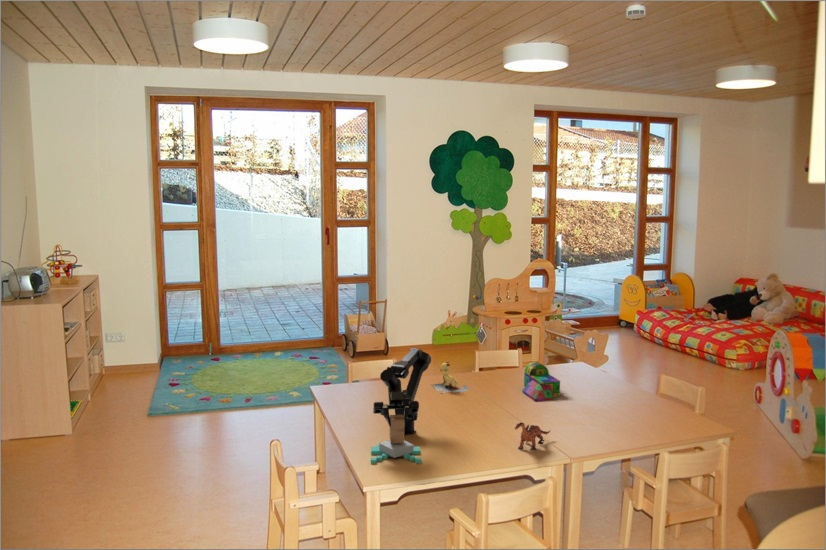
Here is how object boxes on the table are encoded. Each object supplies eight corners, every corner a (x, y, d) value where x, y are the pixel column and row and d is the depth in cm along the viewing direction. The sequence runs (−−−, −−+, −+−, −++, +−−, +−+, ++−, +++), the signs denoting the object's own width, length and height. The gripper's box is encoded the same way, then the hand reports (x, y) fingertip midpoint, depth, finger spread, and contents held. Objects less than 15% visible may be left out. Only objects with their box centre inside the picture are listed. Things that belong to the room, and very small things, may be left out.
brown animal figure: (506, 457, 269) (507, 422, 267) (534, 434, 294) (535, 402, 292) (525, 462, 264) (527, 426, 262) (552, 439, 289) (553, 406, 287)
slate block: (398, 444, 277) (398, 437, 277) (413, 451, 269) (413, 444, 269) (379, 449, 271) (379, 442, 270) (394, 457, 263) (394, 450, 263)
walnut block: (389, 438, 273) (389, 415, 271) (402, 437, 274) (403, 414, 272) (390, 443, 267) (391, 419, 266) (404, 442, 268) (404, 419, 267)
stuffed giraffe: (430, 385, 365) (432, 357, 363) (460, 383, 371) (462, 356, 368) (440, 394, 350) (442, 366, 348) (471, 393, 356) (473, 364, 353)
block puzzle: (514, 387, 363) (515, 362, 361) (542, 385, 368) (543, 360, 366) (534, 401, 339) (535, 375, 338) (564, 399, 344) (565, 373, 342)
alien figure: (421, 465, 262) (418, 445, 282) (421, 459, 262) (418, 440, 281) (370, 465, 261) (371, 445, 281) (370, 460, 261) (371, 440, 280)
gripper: (373, 383, 270) (375, 418, 261) (418, 382, 272) (422, 417, 263) (372, 395, 279) (374, 430, 269) (416, 394, 281) (419, 428, 272)
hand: (397, 426), depth 268 cm, fingers closed on walnut block, 5 cm apart
